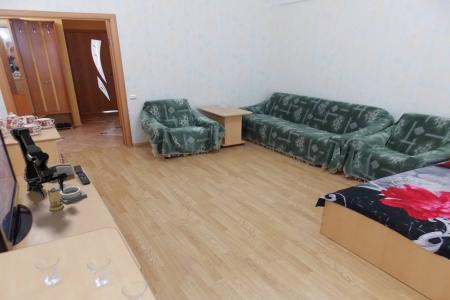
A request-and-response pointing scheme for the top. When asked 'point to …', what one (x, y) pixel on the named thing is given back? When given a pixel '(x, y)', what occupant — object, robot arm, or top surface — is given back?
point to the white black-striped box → (62, 169)
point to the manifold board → (70, 193)
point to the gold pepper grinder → (55, 200)
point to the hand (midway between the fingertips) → (53, 194)
